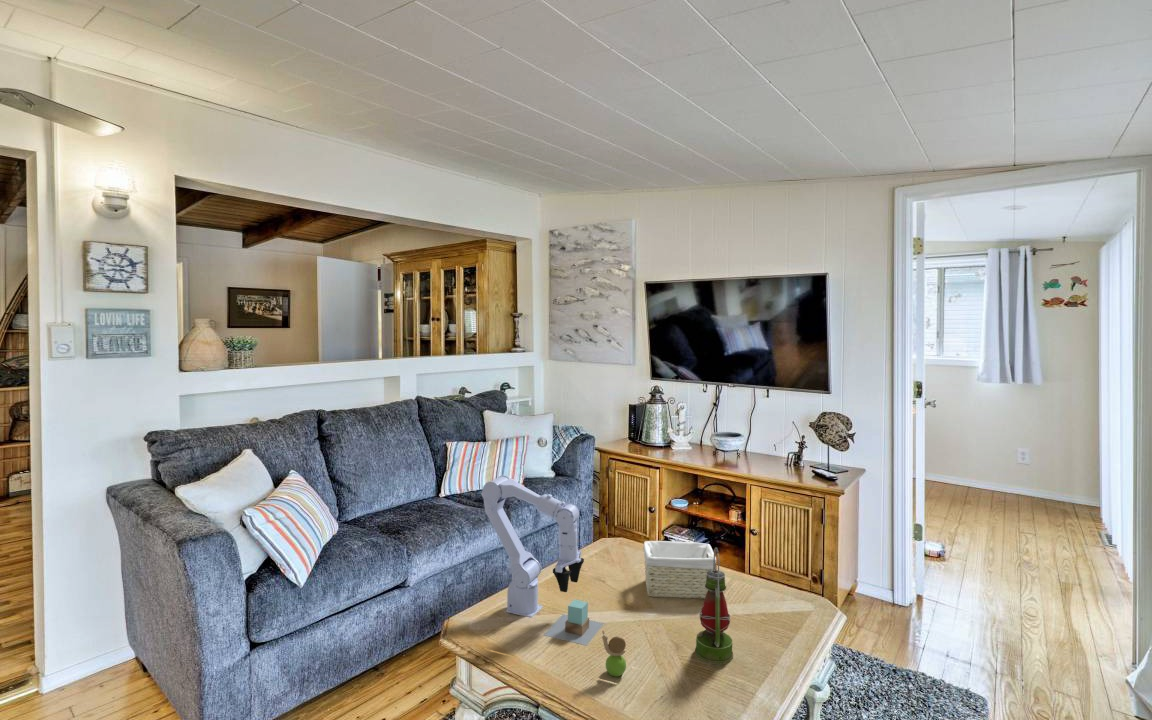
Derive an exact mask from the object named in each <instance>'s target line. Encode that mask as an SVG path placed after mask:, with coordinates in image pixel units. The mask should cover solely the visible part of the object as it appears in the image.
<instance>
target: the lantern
mask: <svg viewBox="0 0 1152 720" xmlns="http://www.w3.org/2000/svg"><path fill="white" fill-rule="evenodd" d="M713 553H714V560H713V570H710V571H707V579H706V584H705V588H706V589H708V592H707V594H706V597H705V598H704V600H703V605H702V608H701V609H700V610H699V611H700V612H699V620H700V625H701V626H702V627H703V628H704V629H705V630H702V631H699V632H698V633H697V634H696V639H695V640H696V641H695V645H696V646H695V650H694V654H695V655H696V657H697V658H698V659H700V660H701V661H703V662H705V663H708V664H712V665H725V664H728V663H730V662H732V660H733V659H734V653H733V639H732V637H731V636H730V635H729V634H727V633H725V631H726V630H727V629H729V626H730V623H731V615H730V614H729V610H728V604H727V600H726V597H725V594H724V592H725V591H726V590H727V586H726V574H725V572H723V571H721V570H720V556H719V555H720V552H719V550H718V547H714V549H713ZM716 555H717V556H716ZM715 557H716V558H717V562H716V563H715ZM714 569H715V570H714Z"/></svg>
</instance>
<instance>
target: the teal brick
mask: <svg viewBox="0 0 1152 720" xmlns="http://www.w3.org/2000/svg"><path fill="white" fill-rule="evenodd" d="M588 611H589V603H588V601H584V600H580V599H579V600H578V599H575V598H574V599H573V600H572V601H571V602H570V603H569V604H568V605H567V615H568V622H570V623H575V624H579V625H582V624H583V623H584V622H585V621H586V620H587V618H589V615H588V613H589V612H588Z"/></svg>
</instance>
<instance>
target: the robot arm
mask: <svg viewBox="0 0 1152 720" xmlns="http://www.w3.org/2000/svg"><path fill="white" fill-rule="evenodd" d="M480 494H481V497H482V498H483V505H484V511H485V514H486V516H487V518H488V520H489V522H490V523H491V526H492V527H493V529H494V531H495V533H496V536H498V538H499V540H500V542H501V544H502V546H503V548H504V550H505V553H506V554H507V555H508V557H509V560H510V563H509V571H510V573H511V581H510V583H509V585H508V587H507V592H506V594H507V595H506V597H507V598H506V599H507V602H506V603H507V605H506V606H507V607H506V608H507V609H506V613H509V614H514V615H518V616H522V617H523V616H525V617H528V618H533V617H535V616H536V615H537V613H539V611H541V609H543V608H544V606H543V605H541V604H539V579H538V577H539V576H540V575H541V572H542V565H541V563H540V562H539V561H538V560H537V559H536V558H535V557H534V556H533V554H532V553H531V552H529V551H527V550H526V549H525V547H524V545H523V543H522V541H521V540H520V537H518V534H517V532H516V530H515V529H514V526H513V525H512V522H511V521H510V519H509V517H508V515H507V513H506V511H505V509H504V505H505V502H506V499H508V498H512V497H514V498H517V499H519V500H522V501H524V502H527V503H528V504H531V505H534V506H535V508H536V509H537V511H538V512H539V513H541V514H543V515H545V516H547V517H549V518H551V519H553V520H555V522H556V523H557V524H558V544H559V545H558V548H559V549H558V551H559V552H558V553H559V557H558V559H557V563H556V565H554V566H555V567H554V568H552V573H553V576H555V578H556V582H557V584H558V587H559V591H560V592H561V593H567V592H568V589H569V580H570V582H572V583H578V581H579V576H580V572H581V570H582V569H581V568H582V566H583V564H584V562H585V559H584V558H583V557H582V550H581V549H578V519H579V517H580V515H581V513H580V509H579V507H578V506H577V505H576V504H574V503H573V502H566V501H564V500H562V501H561V500H559V499H557V498H556V497H553V495H552V494H550V493H549V494H547V493H545V494H543V495H540V494H538V493H536V492H534V491H533V490H531V489H529V488H528V487H526V486H524V485H522V484H520V483H519V482H517V481H516V480H515V479H514V478H511V477H509V476H507V475H500V476H498V477H497V478H495V479H492V480H490V481H488V482H486V483H485V484H484V485H483V487H482V490H481V493H480ZM567 567H568V570H567V569H566V568H567Z"/></svg>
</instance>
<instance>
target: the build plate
mask: <svg viewBox="0 0 1152 720" xmlns="http://www.w3.org/2000/svg"><path fill="white" fill-rule="evenodd" d="M567 620H568V614H563V613H562V614H561V616H560V617H559V618H558V619H556V621H555V622H554V623H553V624H552V625H551V626H550V627H549V628H548V629H547V630H546V631H545V633H544V634H543V636H545V637H549V638H553V639H558V640H562V641H566V642H570V643H574V644H578V645H583V646H588V645H589V644H590V642H591V641H592V640H593V639H594V637H595V636H596V634H597V633H598V632H599V630H600V629H601V628H602V627H603V625H604V624H605V623H604V622H601V621H595V620H591V619H589V628H588V629H587V631H586V632H585V633H584V634H583V636H580V635H576V634H571V633H567V632H565V622H566V621H567Z"/></svg>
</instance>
